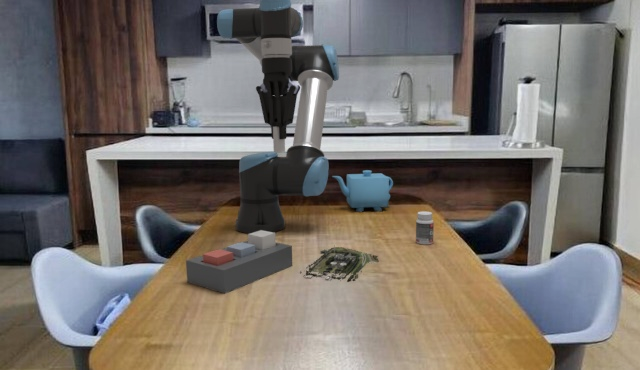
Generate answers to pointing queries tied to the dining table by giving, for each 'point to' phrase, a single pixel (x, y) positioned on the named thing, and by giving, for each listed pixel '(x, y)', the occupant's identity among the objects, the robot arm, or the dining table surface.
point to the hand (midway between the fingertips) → (279, 152)
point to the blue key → (241, 249)
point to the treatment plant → (340, 263)
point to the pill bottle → (424, 228)
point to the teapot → (366, 190)
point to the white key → (262, 239)
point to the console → (239, 268)
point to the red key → (218, 257)
